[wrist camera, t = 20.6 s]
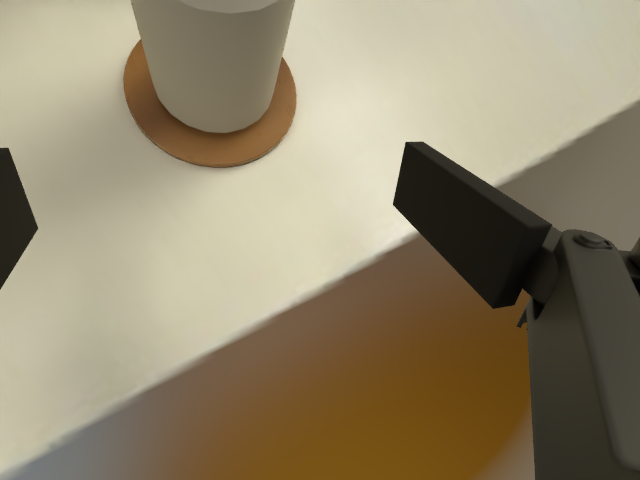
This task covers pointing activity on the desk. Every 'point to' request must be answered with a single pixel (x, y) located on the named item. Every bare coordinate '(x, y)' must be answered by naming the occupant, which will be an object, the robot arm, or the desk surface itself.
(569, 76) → the desk surface
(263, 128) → the coaster
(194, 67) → the can
